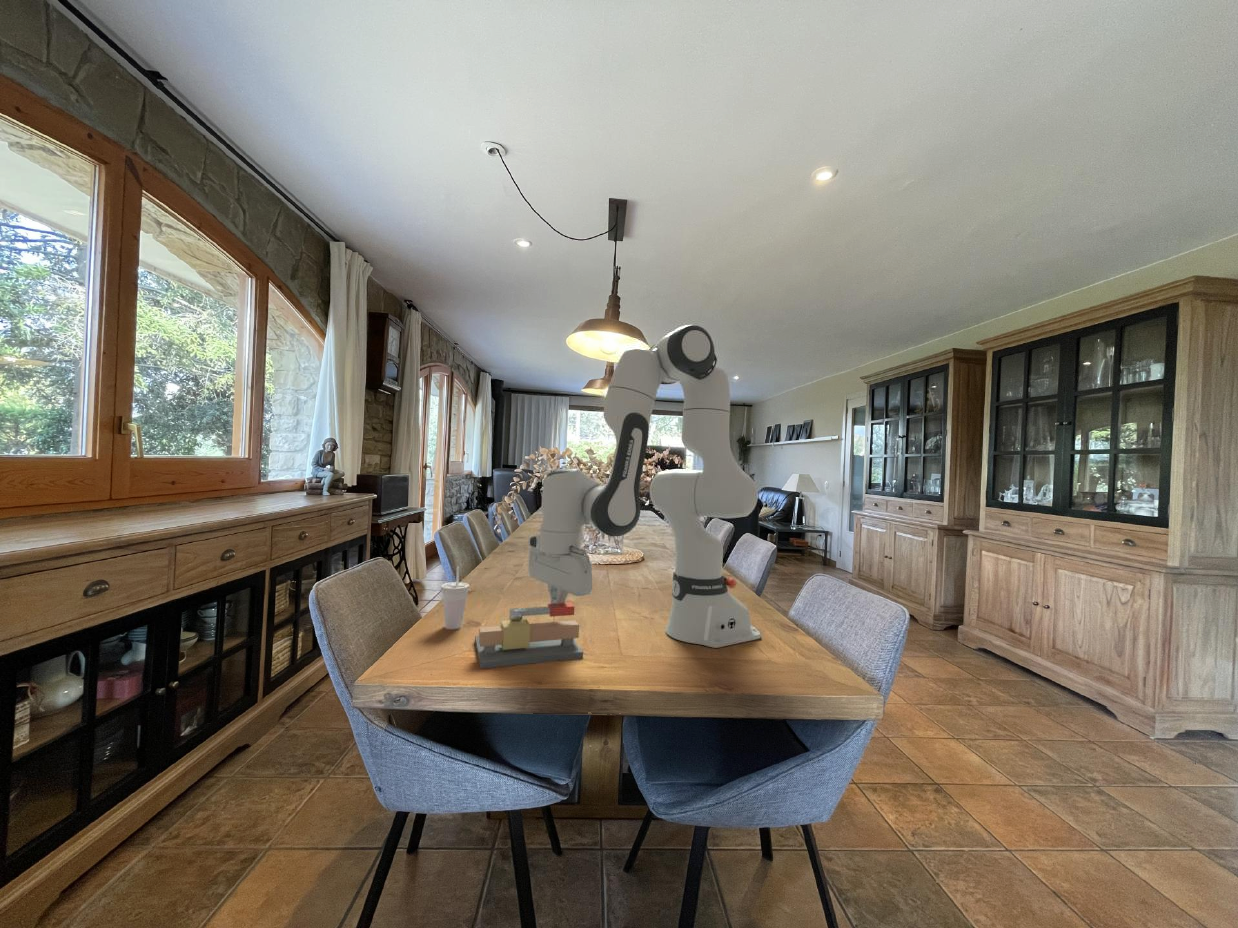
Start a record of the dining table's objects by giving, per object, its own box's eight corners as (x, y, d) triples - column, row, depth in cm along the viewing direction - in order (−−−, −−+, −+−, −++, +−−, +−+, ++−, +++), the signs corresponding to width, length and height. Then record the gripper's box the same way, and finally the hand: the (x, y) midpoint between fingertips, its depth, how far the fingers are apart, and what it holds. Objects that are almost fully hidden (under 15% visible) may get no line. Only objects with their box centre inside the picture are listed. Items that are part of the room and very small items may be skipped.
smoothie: (458, 632, 111) (461, 570, 111) (433, 629, 112) (435, 568, 112) (472, 623, 117) (475, 565, 117) (448, 620, 118) (450, 562, 118)
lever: (510, 621, 98) (510, 610, 98) (508, 616, 100) (508, 606, 100) (574, 616, 102) (574, 606, 102) (570, 612, 105) (571, 602, 105)
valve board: (565, 634, 113) (566, 603, 113) (582, 657, 100) (584, 623, 100) (474, 641, 105) (476, 609, 105) (480, 668, 92) (482, 631, 92)
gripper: (601, 549, 100) (598, 617, 100) (548, 535, 116) (545, 593, 116) (575, 552, 96) (572, 622, 96) (524, 537, 112) (521, 597, 112)
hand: (557, 606), depth 106 cm, fingers closed
